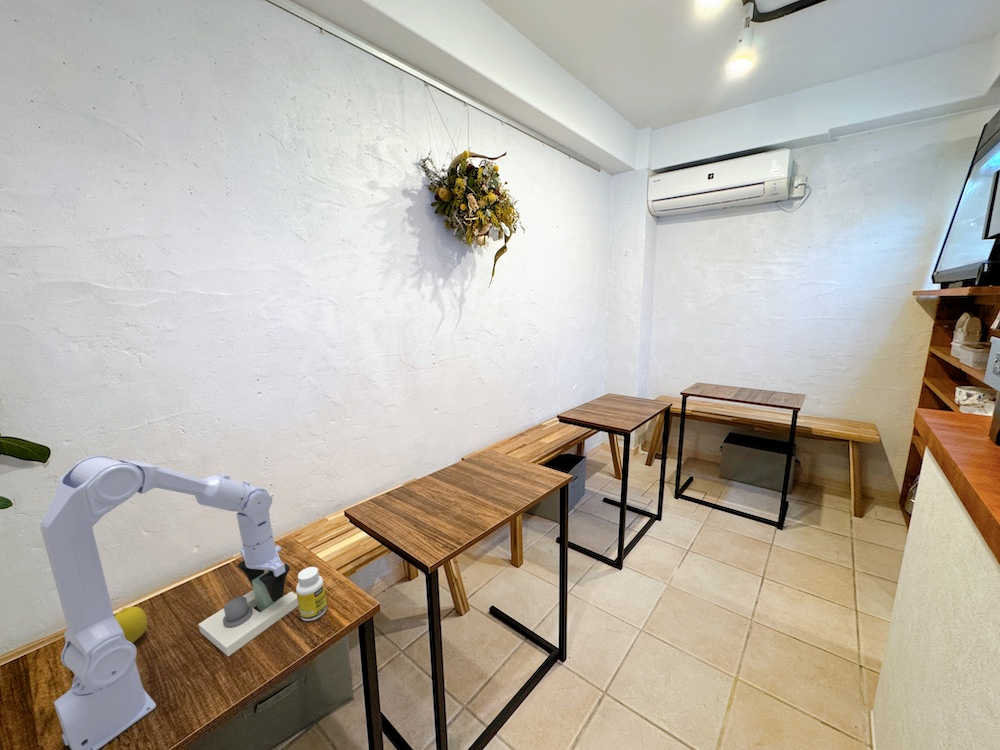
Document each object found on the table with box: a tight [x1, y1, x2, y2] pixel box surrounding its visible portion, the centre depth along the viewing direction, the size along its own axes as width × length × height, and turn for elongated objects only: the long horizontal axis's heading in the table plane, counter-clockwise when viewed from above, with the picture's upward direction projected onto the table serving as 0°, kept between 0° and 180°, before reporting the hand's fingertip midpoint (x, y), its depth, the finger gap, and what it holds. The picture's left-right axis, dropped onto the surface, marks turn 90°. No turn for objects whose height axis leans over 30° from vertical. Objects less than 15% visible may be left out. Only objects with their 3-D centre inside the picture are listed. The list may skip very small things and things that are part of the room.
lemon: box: [114, 606, 148, 644], centre depth 80 cm, size 6×6×8 cm
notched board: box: [197, 589, 299, 657], centre depth 85 cm, size 15×12×6 cm
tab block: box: [251, 570, 282, 612], centre depth 88 cm, size 4×4×7 cm
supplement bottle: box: [295, 566, 328, 622], centre depth 85 cm, size 5×5×10 cm
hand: (268, 592), depth 88 cm, fingers open, 7 cm apart
